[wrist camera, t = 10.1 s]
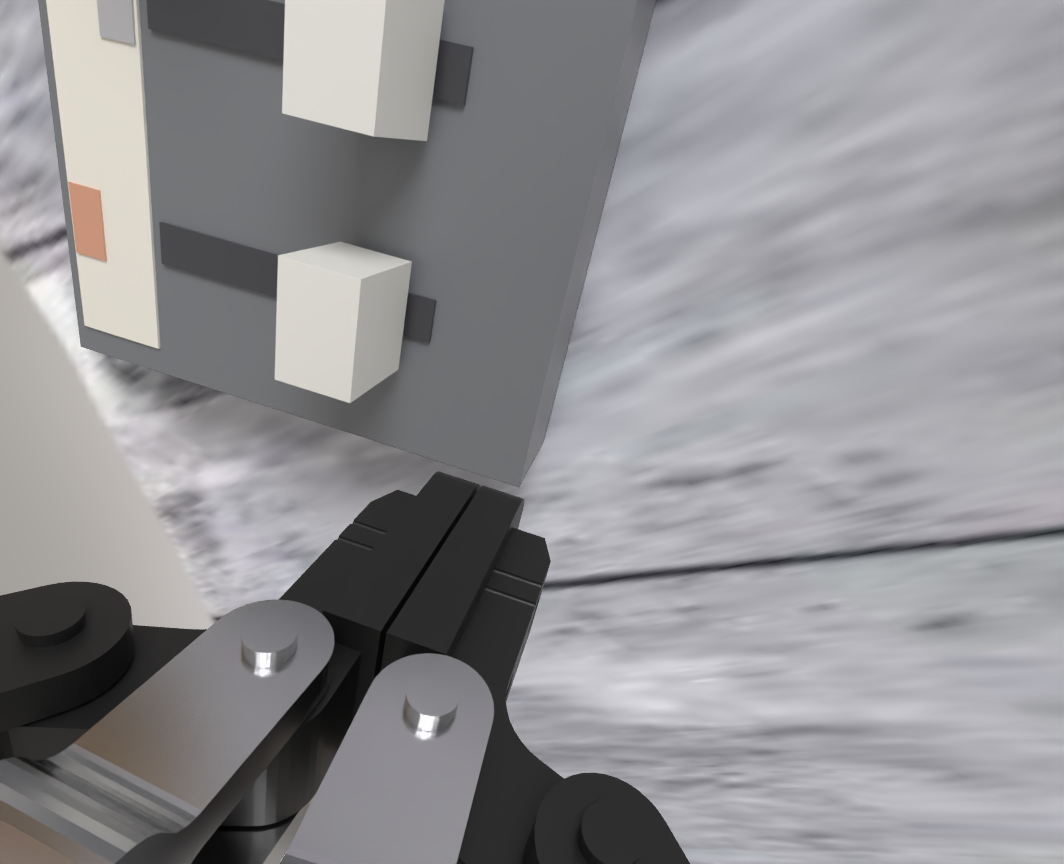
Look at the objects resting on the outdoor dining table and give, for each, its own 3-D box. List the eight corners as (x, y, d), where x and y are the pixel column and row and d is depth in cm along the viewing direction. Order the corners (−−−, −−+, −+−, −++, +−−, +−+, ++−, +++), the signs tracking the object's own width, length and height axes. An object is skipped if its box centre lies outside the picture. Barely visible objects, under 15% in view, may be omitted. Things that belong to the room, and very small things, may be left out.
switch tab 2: (412, 261, 19) (361, 278, 16) (398, 369, 20) (350, 402, 17) (340, 241, 19) (277, 255, 16) (332, 349, 20) (274, 379, 18)
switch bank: (767, -436, 14) (793, -645, 11) (543, 441, 25) (517, 489, 21) (111, -513, 17) (-57, -709, 13) (161, 322, 27) (77, 347, 23)
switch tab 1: (446, -12, 16) (390, -52, 13) (426, 141, 17) (373, 136, 14) (360, -31, 16) (287, -74, 13) (349, 121, 17) (282, 113, 15)
